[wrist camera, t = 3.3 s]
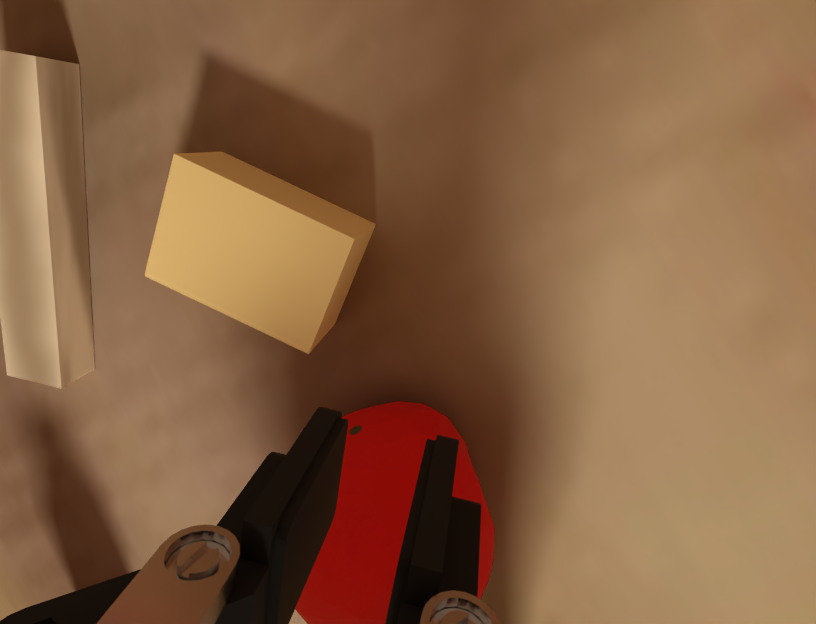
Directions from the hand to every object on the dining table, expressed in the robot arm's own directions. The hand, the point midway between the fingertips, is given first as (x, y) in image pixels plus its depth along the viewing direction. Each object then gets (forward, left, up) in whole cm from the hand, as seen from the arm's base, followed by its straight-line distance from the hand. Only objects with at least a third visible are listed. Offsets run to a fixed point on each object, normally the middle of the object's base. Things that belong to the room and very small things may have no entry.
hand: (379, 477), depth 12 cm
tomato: (+1, +14, -19) cm, 24 cm away
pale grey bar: (+26, +2, -19) cm, 32 cm away
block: (+11, 0, -19) cm, 22 cm away
